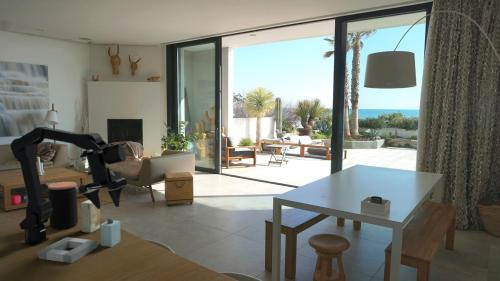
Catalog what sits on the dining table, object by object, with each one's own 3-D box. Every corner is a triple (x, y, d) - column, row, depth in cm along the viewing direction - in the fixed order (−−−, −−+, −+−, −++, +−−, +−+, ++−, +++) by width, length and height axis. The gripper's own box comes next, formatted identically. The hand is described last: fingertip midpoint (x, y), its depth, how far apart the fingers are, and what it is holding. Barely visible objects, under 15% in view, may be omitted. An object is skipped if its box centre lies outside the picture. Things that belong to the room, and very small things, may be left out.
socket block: (38, 258, 118) (38, 251, 118) (66, 243, 130) (66, 237, 130) (71, 263, 115) (71, 255, 115) (97, 247, 128) (97, 240, 127)
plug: (101, 245, 129) (100, 220, 128) (110, 239, 135) (109, 216, 134) (111, 246, 128) (111, 221, 127) (120, 241, 134) (119, 217, 133)
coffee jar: (56, 221, 153) (54, 181, 151) (81, 221, 155) (80, 181, 153) (45, 230, 143) (42, 187, 141) (72, 230, 144) (70, 187, 142)
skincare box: (91, 233, 141) (90, 203, 140) (81, 232, 142) (80, 202, 141) (100, 227, 147) (100, 199, 146) (91, 226, 148) (90, 198, 147)
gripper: (132, 159, 131) (142, 198, 133) (96, 164, 139) (106, 202, 140) (110, 166, 121) (121, 209, 123) (73, 171, 129) (83, 212, 130)
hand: (108, 207), depth 129 cm, fingers open, 9 cm apart
